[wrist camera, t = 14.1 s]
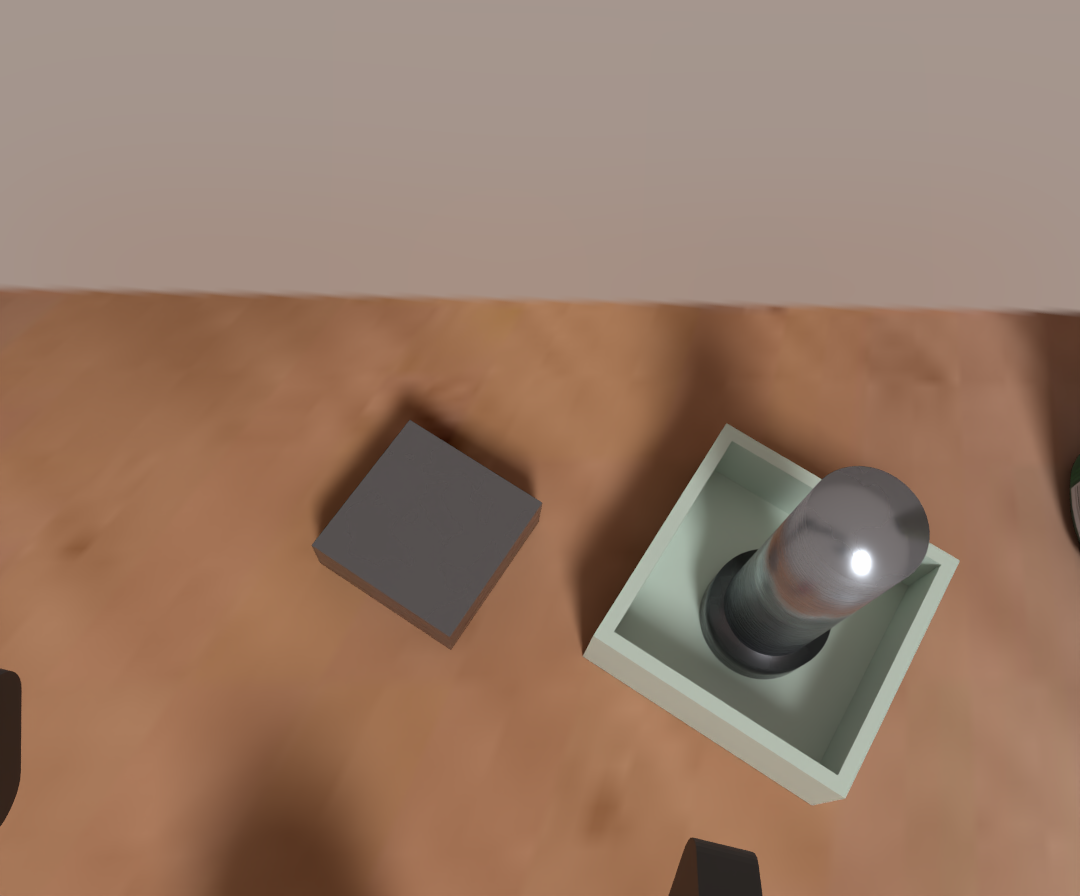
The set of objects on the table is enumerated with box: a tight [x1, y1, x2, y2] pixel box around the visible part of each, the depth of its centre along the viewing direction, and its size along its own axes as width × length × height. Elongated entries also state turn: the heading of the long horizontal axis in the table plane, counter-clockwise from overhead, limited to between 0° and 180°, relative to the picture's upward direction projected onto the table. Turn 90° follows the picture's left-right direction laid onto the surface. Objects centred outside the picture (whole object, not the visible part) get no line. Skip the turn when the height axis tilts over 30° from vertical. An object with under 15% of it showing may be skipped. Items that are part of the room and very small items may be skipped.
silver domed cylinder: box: [699, 466, 929, 680], centre depth 38 cm, size 5×5×13 cm
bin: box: [583, 423, 959, 805], centre depth 42 cm, size 11×11×4 cm
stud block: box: [312, 420, 542, 650], centre depth 44 cm, size 7×7×2 cm
